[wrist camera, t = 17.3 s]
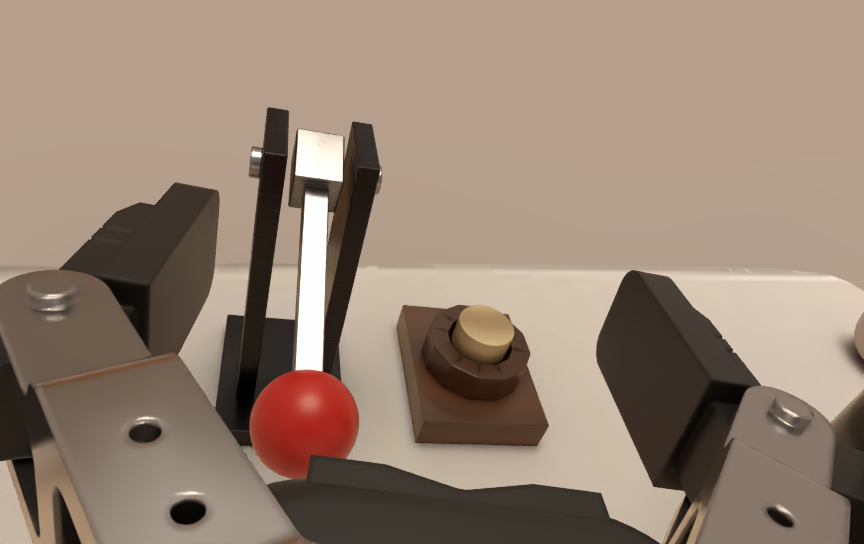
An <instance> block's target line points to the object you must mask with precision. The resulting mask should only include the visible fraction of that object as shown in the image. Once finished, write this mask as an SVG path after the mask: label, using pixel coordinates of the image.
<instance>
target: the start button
mask: <svg viewBox="0 0 864 544" xmlns="http://www.w3.org/2000/svg"><path fill="white" fill-rule="evenodd" d="M513 337H514V328H513V325H512V323H511V322H510V321H509V319H508V318H507V317H506V316H505V315H503V314H502V313H500V312H499V311H497V310H495V309H493V308H490V307H486V306H479V305H476V306H470V307H467V308H465V309H464V310H463V311H462V312H461V313H460V316H459V318H458V321H457V324H456V326H455V329H454V331H453V334H452V343H453V345H454V347H455V349H456V350H457V351H458V352H459V353H460V354H461V355H462V356H463V357H465V358H468V359H470V360H472V361H474V362H476V363H478V364H487V365H492V364H496V363H498V362H500V361H501V360H502V359H503V358H504V356H505V354H506V352H507V350H508V348H509V346H510V344H511V342H512V339H513Z"/></svg>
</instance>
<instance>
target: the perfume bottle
mask: <svg viewBox="0 0 864 544" xmlns="http://www.w3.org/2000/svg"><path fill="white" fill-rule="evenodd" d="M854 335H855V345H856V347H857V350H858V352H859V354H860V355H861V357H862V358H863V359H864V312H863V314H862V315H861V317H860V319H859V321H858V322H857V324H856V328H855V334H854Z"/></svg>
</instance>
